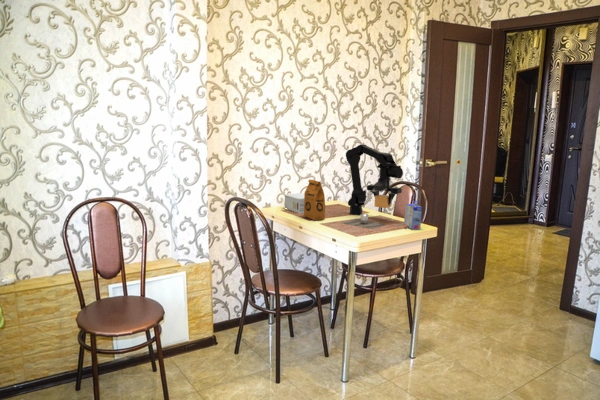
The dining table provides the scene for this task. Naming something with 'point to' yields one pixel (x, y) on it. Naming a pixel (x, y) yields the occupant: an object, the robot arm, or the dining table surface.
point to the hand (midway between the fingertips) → (383, 204)
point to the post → (364, 219)
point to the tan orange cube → (382, 201)
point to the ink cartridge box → (413, 215)
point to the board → (370, 224)
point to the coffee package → (314, 201)
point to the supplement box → (295, 202)
